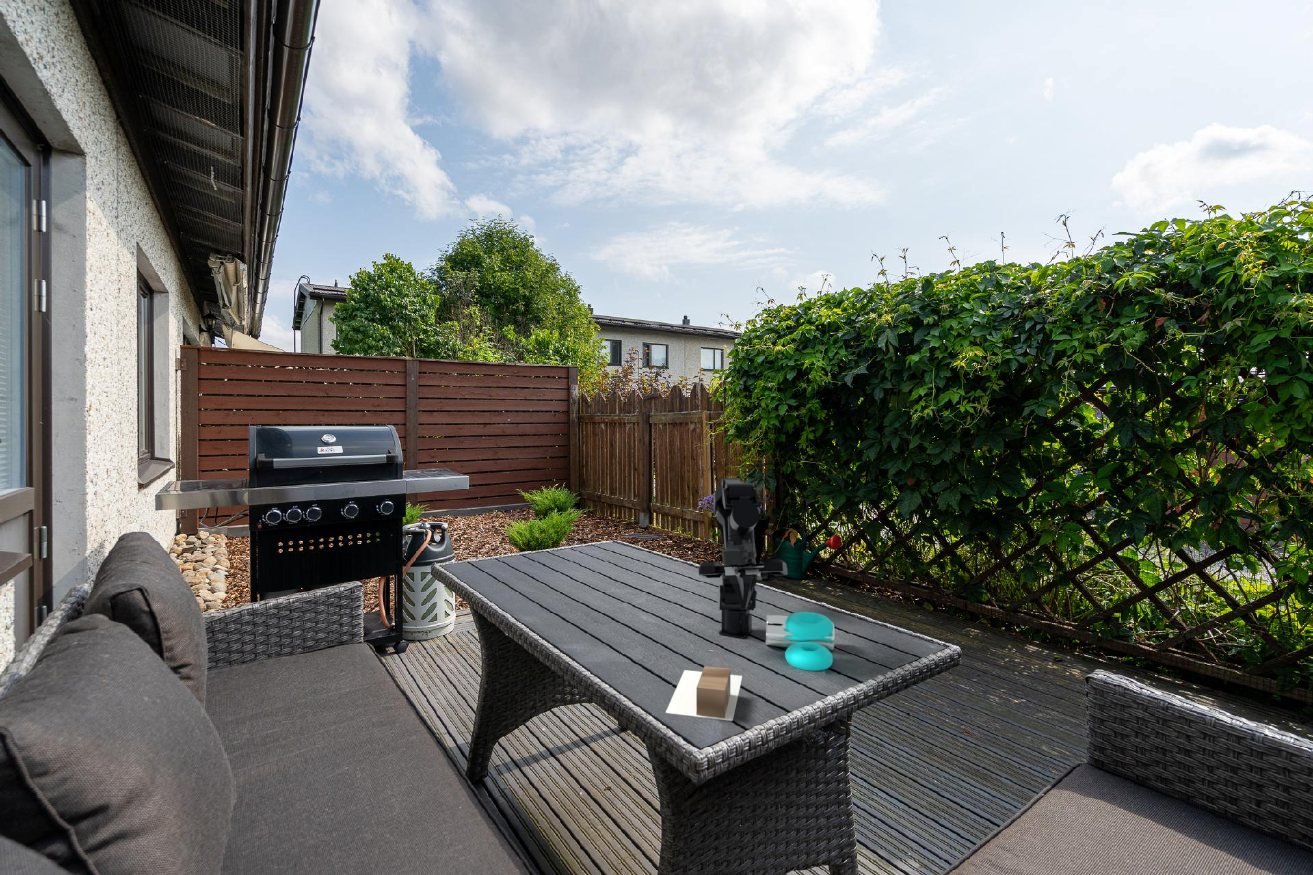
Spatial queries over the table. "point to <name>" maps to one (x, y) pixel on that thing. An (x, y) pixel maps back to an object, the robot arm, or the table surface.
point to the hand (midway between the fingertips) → (744, 609)
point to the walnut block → (713, 692)
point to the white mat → (686, 696)
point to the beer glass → (784, 638)
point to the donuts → (807, 652)
